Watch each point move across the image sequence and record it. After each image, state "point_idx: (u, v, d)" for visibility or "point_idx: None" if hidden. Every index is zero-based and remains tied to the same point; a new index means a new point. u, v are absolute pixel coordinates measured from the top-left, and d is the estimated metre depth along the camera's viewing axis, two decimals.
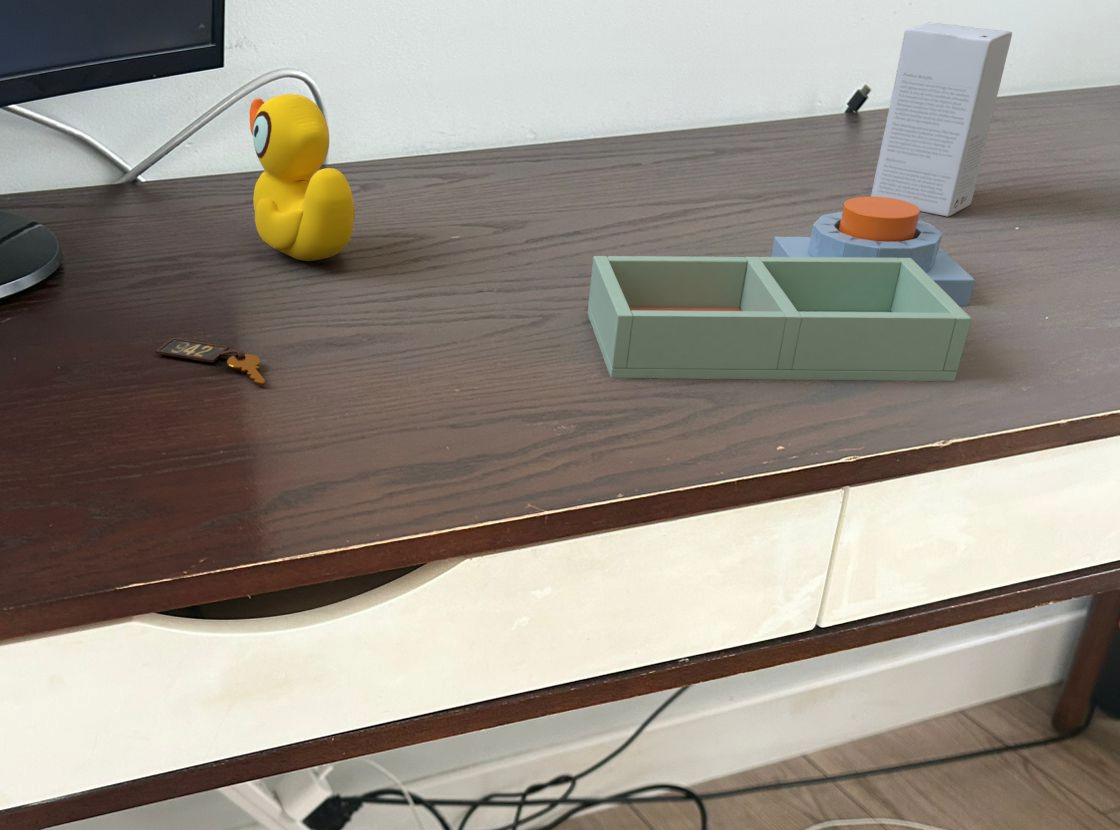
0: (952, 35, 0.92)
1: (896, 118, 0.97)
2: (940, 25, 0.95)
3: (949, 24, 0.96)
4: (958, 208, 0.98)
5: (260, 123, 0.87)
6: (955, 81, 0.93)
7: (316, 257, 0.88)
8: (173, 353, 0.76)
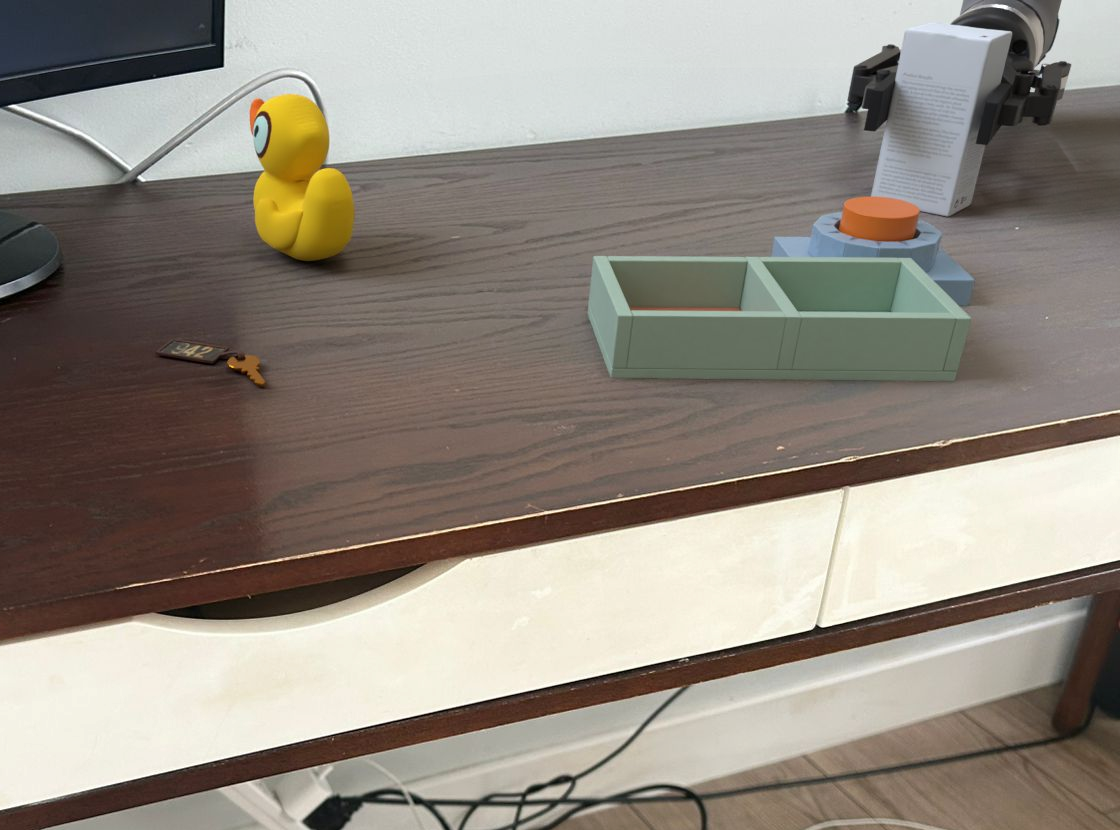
0: (952, 35, 0.92)
1: (896, 118, 0.97)
2: (940, 25, 0.95)
3: (949, 24, 0.96)
4: (958, 208, 0.98)
5: (260, 123, 0.87)
6: (955, 81, 0.93)
7: (316, 257, 0.88)
8: (173, 354, 0.76)
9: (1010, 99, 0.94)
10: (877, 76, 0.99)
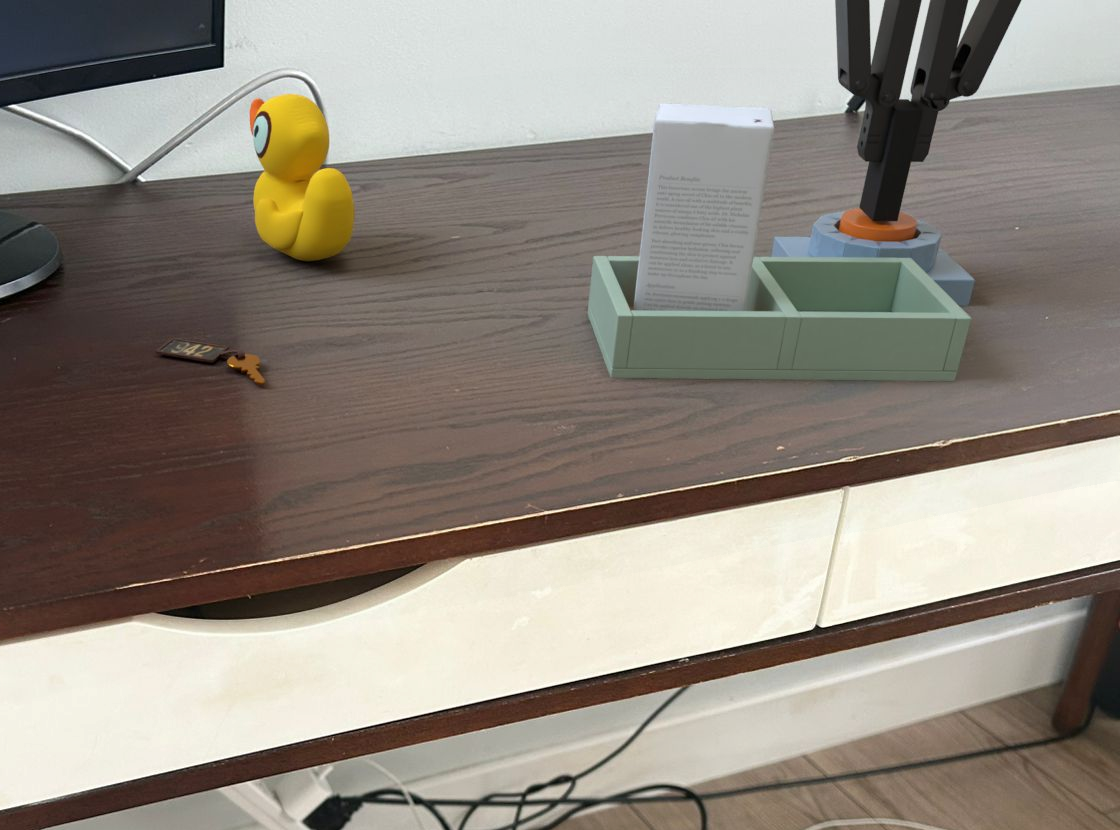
0: (721, 123, 0.69)
1: (656, 233, 0.73)
2: (682, 107, 0.72)
3: (687, 104, 0.73)
4: None
5: (260, 123, 0.87)
6: (732, 181, 0.70)
7: (316, 257, 0.88)
8: (173, 353, 0.76)
9: (917, 134, 0.80)
10: (880, 105, 0.79)
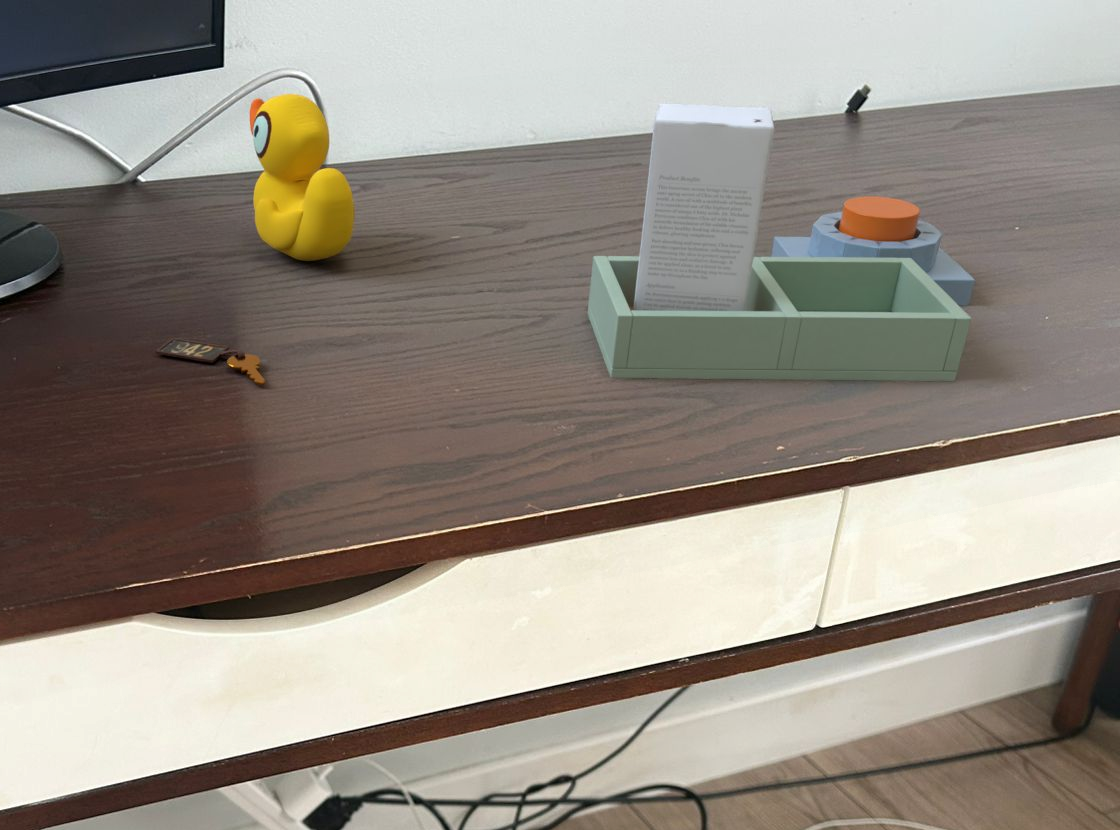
0: (721, 123, 0.69)
1: (655, 233, 0.73)
2: (682, 107, 0.72)
3: (687, 104, 0.73)
4: None
5: (260, 123, 0.87)
6: (732, 181, 0.70)
7: (316, 257, 0.88)
8: (173, 353, 0.76)
9: None
10: None
